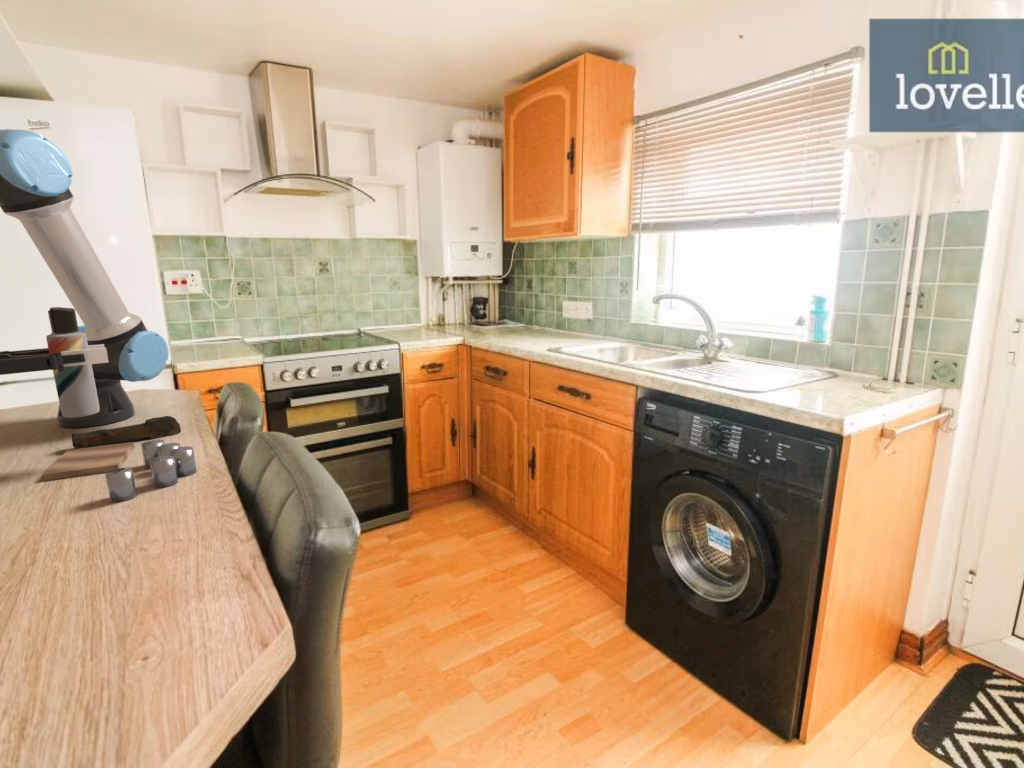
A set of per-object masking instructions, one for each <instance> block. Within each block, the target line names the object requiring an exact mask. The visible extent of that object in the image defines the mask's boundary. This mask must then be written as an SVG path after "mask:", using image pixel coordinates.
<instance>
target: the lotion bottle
mask: <svg viewBox="0 0 1024 768" xmlns="http://www.w3.org/2000/svg"><path fill="white" fill-rule="evenodd" d="M47 313H48V314H47V315H48V319H49V323H50V330H51V333H54V334H51V333H50V334H48V335H46V337H45V339H46V343H47V348H48V349H49V354H53V353H61V352H64V351H75V350H84V349H89V348H88V343H87V338H86V334H85V333H83V332H76V331H79V330H78V324H79V323H78V320H77V315H76V314H77V312H76V310H75V308H74V307H73V308H72V307H59V306H55V307H54V306H53V307H52V306H51V307H49V310H47ZM61 356H62V355H61ZM63 368H64V371H61V372H59V371H58V369H56V370H52V372H53V373H52V374H53V378H54V383H55V386H56V387H55V388H56V392H57V397H58V403H60V408H61V412H62V415H63V417H68V418H73V417H83V416H88V415H92V414H95V413H98V412H99V411H100V408H99V401H98V396H97V391H96V385H95V380H94V375H93V369H92V364H88V365H78V366H69V367H64V365H63Z"/></svg>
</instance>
